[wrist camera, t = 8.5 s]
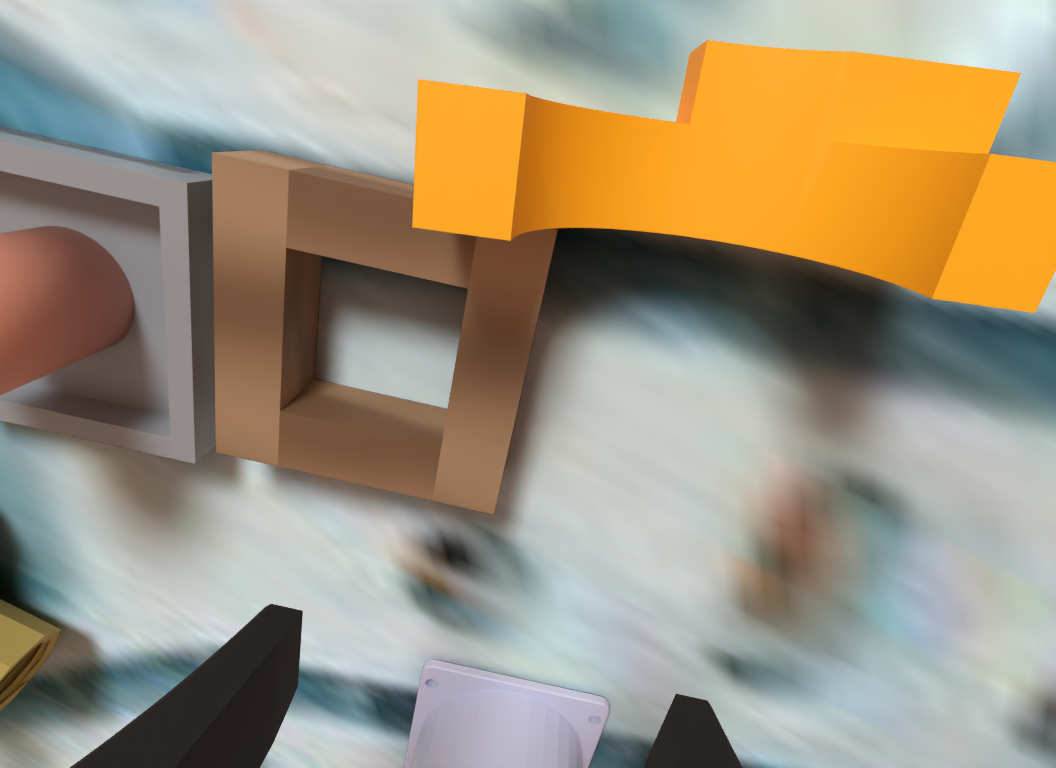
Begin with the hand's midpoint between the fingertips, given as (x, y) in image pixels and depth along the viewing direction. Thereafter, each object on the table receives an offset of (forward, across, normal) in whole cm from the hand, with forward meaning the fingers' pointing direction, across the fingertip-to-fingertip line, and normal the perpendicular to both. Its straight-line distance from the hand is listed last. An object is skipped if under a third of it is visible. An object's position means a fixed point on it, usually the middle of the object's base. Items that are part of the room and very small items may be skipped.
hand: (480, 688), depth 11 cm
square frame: (+10, +5, -3) cm, 11 cm away
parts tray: (+10, +15, -2) cm, 18 cm away
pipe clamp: (+10, -2, -10) cm, 15 cm away
